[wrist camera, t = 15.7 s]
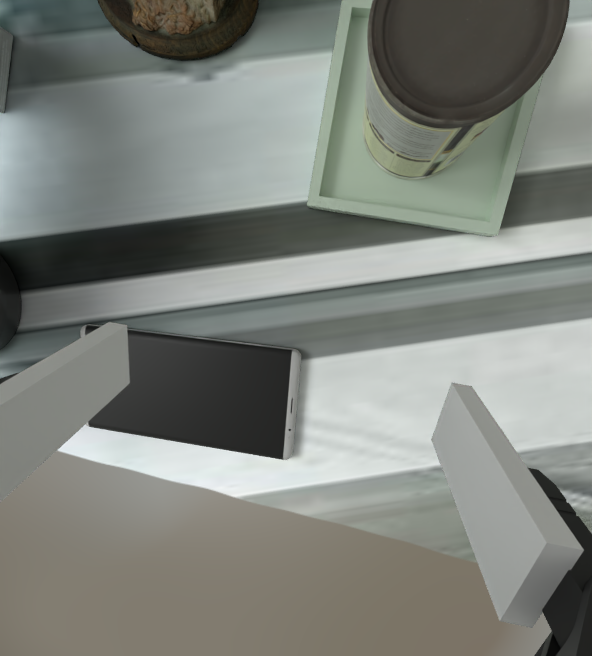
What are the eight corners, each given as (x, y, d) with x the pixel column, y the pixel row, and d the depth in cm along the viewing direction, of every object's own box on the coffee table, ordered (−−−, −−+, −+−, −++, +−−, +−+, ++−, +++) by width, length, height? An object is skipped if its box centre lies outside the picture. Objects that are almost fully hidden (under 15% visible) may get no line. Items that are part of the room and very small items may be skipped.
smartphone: (88, 321, 43) (77, 324, 41) (303, 347, 39) (300, 351, 37) (91, 421, 46) (81, 427, 44) (293, 454, 42) (290, 462, 40)
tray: (309, 208, 36) (306, 205, 34) (343, 7, 32) (343, -7, 31) (490, 236, 34) (497, 235, 32) (548, 25, 30) (561, 10, 28)
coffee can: (386, 46, 32) (413, -120, 18) (496, 81, 31) (611, -65, 17) (344, 161, 34) (340, 91, 20) (445, 196, 33) (512, 148, 20)
